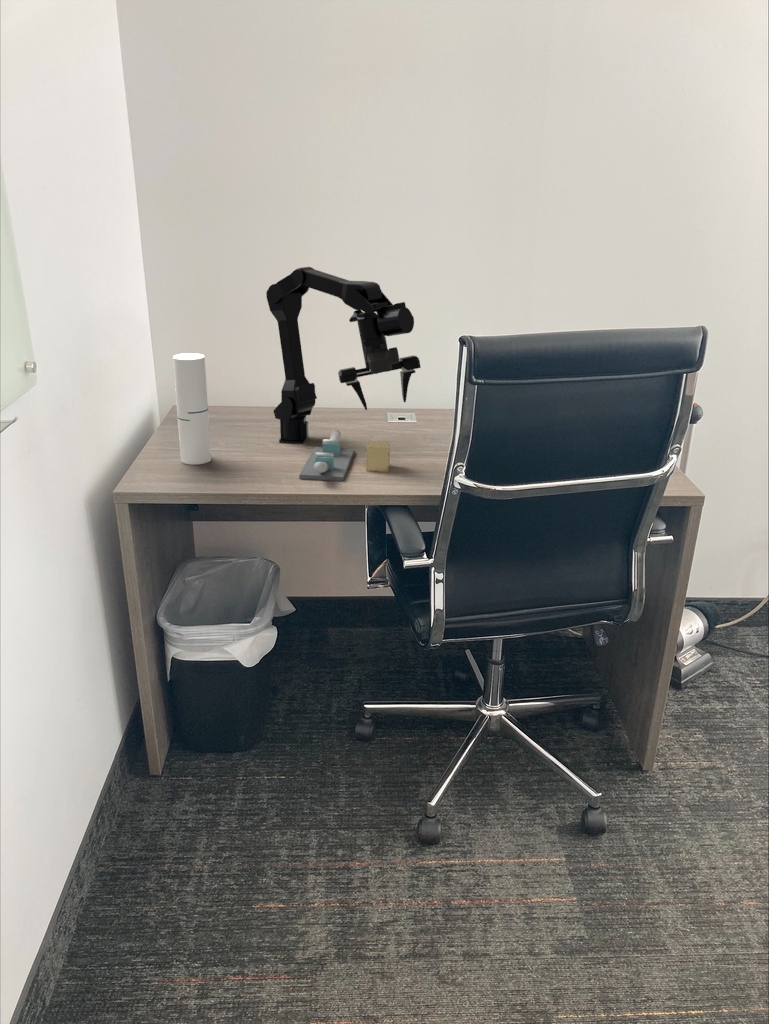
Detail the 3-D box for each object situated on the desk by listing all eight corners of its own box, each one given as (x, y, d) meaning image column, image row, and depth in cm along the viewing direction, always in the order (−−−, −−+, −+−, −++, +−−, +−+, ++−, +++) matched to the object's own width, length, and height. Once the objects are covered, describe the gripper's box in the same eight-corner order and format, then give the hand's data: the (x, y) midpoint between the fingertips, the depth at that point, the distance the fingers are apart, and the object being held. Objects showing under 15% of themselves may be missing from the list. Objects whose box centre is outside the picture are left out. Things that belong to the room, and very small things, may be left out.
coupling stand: (296, 483, 182) (296, 461, 180) (316, 447, 205) (316, 427, 203) (340, 485, 181) (340, 464, 179) (355, 449, 205) (356, 429, 203)
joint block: (366, 471, 190) (366, 447, 188) (368, 464, 195) (369, 440, 192) (387, 472, 190) (388, 448, 187) (389, 465, 194) (390, 441, 192)
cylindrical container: (210, 464, 192) (203, 359, 182) (180, 465, 191) (171, 360, 181) (211, 454, 198) (205, 352, 189) (181, 455, 197) (173, 353, 188)
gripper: (335, 347, 177) (348, 417, 180) (418, 331, 178) (429, 401, 182) (332, 346, 187) (345, 412, 191) (411, 331, 189) (422, 397, 192)
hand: (385, 405), depth 189 cm, fingers open, 9 cm apart
